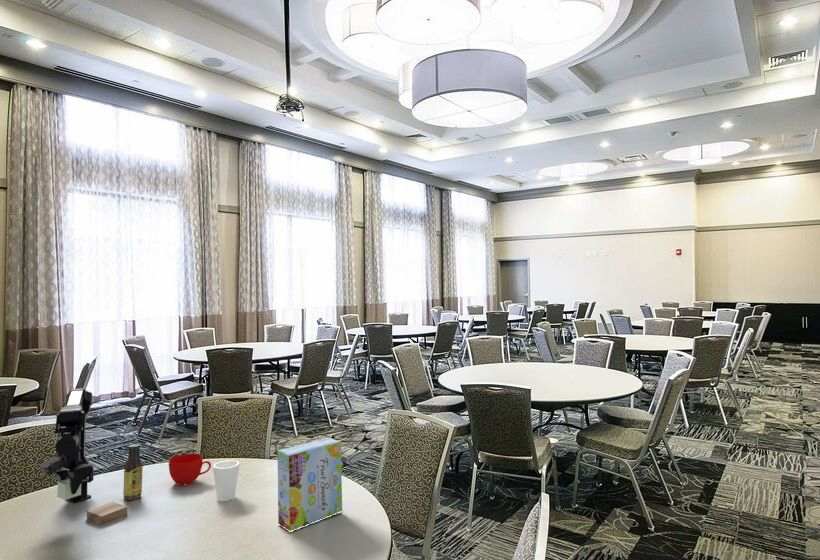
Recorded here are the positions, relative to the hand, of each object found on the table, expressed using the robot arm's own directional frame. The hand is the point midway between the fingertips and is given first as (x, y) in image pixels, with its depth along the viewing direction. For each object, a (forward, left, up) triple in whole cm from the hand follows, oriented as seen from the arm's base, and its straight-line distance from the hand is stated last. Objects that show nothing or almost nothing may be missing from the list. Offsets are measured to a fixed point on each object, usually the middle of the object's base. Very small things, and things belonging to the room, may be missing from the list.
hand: (69, 492), depth 174 cm
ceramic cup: (+3, +46, -11) cm, 47 cm away
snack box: (+69, +44, -11) cm, 82 cm away
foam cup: (+29, +42, -11) cm, 52 cm away
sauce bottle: (-3, +25, -11) cm, 27 cm away
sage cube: (0, 0, -1) cm, 1 cm away
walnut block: (+6, +10, -11) cm, 16 cm away
